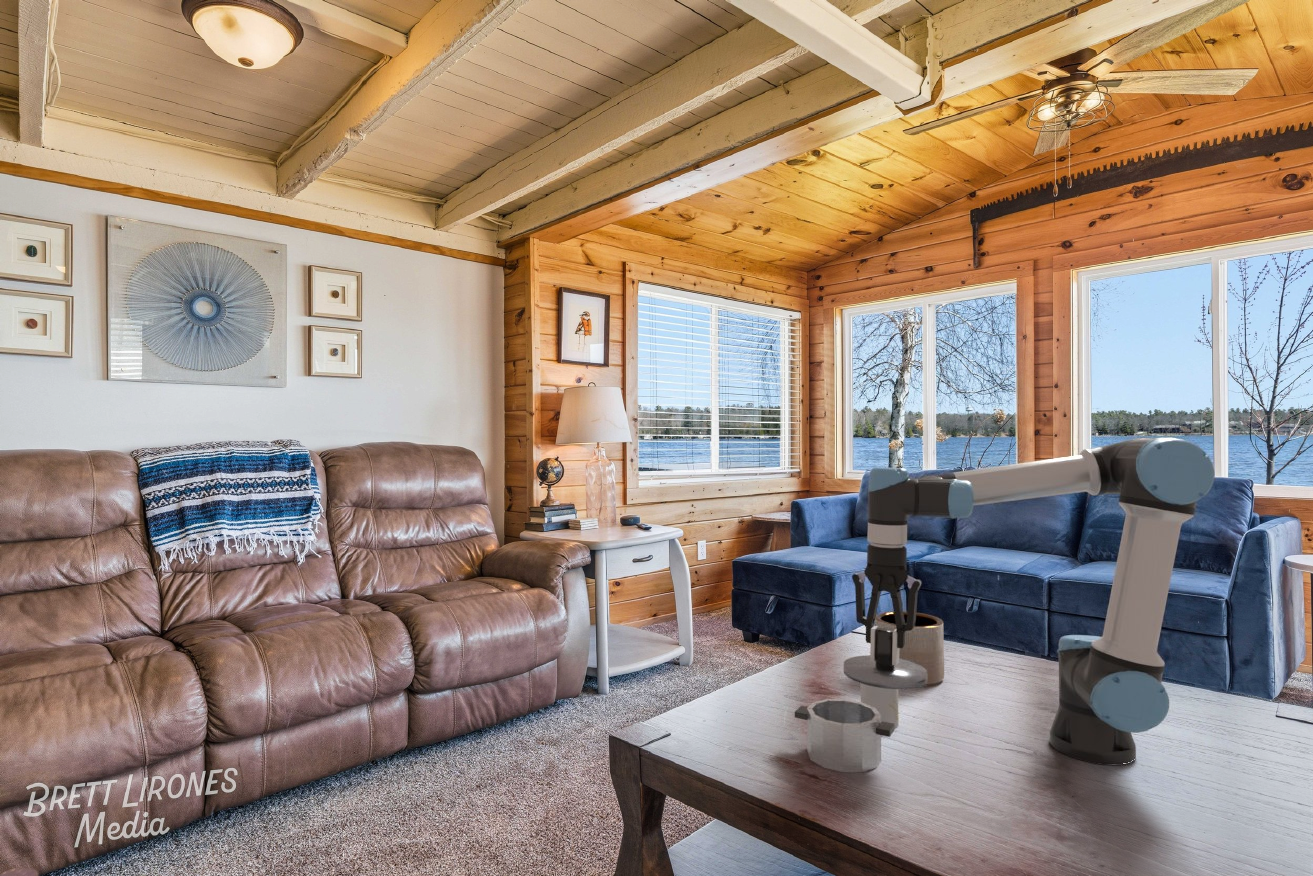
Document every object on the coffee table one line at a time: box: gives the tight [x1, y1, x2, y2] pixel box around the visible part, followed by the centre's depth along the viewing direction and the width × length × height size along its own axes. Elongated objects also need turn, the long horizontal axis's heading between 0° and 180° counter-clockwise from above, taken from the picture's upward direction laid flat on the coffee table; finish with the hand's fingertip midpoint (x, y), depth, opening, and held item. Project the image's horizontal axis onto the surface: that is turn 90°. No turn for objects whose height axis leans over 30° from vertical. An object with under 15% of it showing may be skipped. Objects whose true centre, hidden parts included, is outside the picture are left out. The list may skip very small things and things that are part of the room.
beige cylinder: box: [860, 683, 900, 729], centre depth 161 cm, size 8×8×12 cm
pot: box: [794, 698, 895, 773], centre depth 144 cm, size 19×14×9 cm
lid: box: [842, 628, 928, 690], centre depth 142 cm, size 16×16×9 cm
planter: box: [874, 611, 945, 687], centre depth 192 cm, size 18×18×16 cm
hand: (884, 661), depth 142 cm, fingers closed on lid, 4 cm apart
